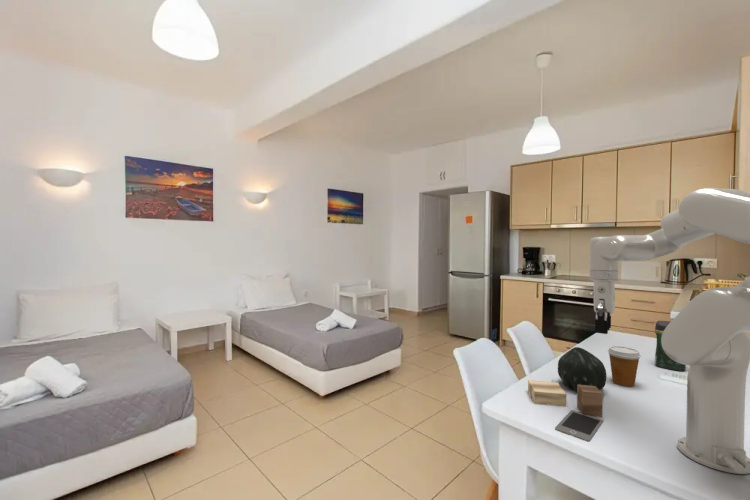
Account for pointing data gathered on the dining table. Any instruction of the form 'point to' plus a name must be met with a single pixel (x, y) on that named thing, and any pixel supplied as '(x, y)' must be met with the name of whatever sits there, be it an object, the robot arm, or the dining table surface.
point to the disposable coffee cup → (624, 365)
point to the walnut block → (589, 400)
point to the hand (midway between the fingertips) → (603, 330)
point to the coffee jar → (660, 355)
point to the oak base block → (546, 393)
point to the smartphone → (579, 425)
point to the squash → (581, 369)
